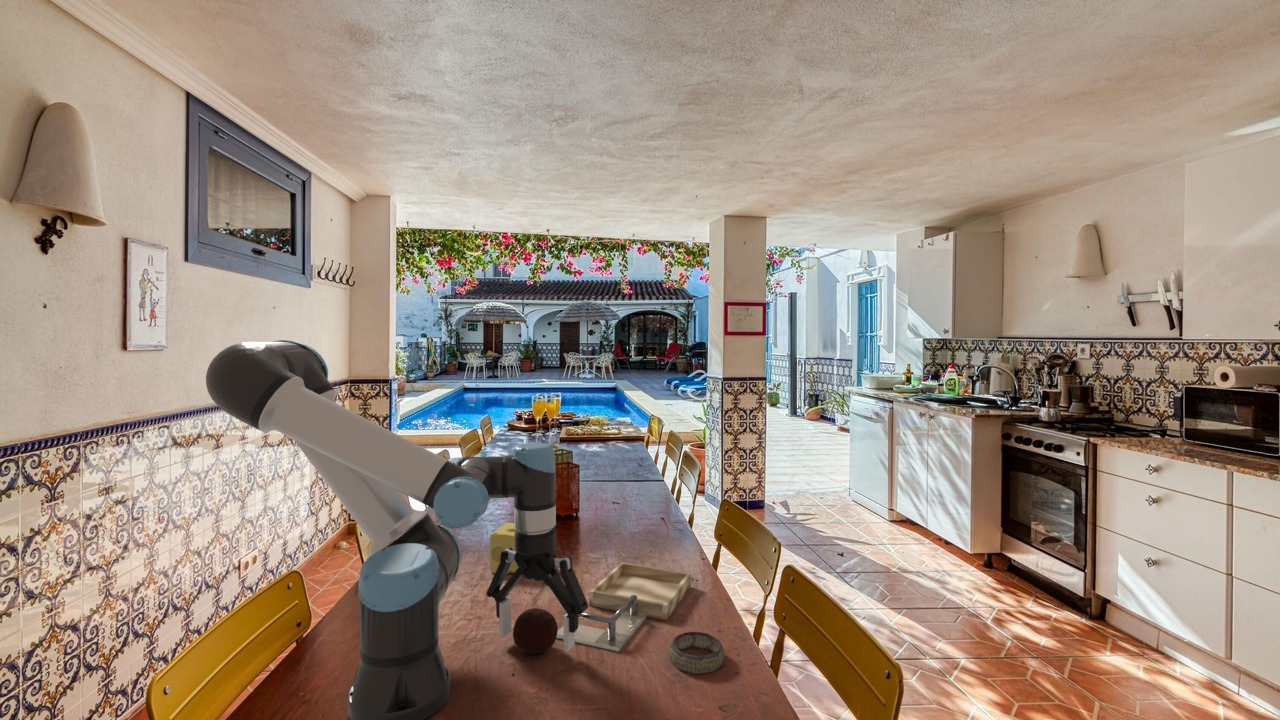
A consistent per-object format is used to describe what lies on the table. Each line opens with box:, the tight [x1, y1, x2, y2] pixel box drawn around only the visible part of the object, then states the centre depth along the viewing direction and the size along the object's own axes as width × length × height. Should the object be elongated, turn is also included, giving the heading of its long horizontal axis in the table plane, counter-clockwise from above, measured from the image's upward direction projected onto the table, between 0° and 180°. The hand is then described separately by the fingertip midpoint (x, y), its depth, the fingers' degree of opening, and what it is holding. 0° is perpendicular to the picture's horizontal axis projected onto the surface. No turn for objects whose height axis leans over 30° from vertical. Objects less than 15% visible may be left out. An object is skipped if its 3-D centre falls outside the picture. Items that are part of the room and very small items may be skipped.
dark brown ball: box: [512, 607, 559, 655], centre depth 110 cm, size 8×9×8 cm
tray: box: [588, 561, 692, 621], centre depth 133 cm, size 18×18×3 cm
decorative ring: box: [668, 631, 726, 675], centre depth 107 cm, size 10×3×10 cm
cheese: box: [489, 522, 526, 578], centre depth 149 cm, size 10×11×10 cm
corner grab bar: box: [556, 595, 648, 653], centre depth 120 cm, size 16×14×5 cm
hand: (536, 641), depth 110 cm, fingers open, 13 cm apart
